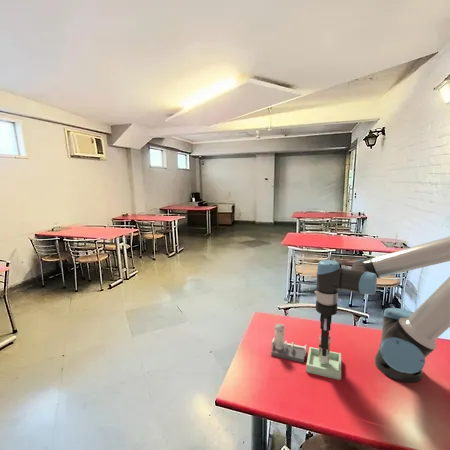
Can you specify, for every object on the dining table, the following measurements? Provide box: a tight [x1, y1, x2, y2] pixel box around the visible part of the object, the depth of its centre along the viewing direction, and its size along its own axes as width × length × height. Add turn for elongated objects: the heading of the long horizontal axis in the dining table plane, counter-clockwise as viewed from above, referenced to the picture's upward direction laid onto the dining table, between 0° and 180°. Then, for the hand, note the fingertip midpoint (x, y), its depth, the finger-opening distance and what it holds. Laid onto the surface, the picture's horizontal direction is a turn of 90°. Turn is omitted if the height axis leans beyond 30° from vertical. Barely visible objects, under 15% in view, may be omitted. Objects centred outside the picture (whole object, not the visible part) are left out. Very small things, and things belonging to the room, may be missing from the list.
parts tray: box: [305, 346, 342, 381], centre depth 103 cm, size 12×12×3 cm
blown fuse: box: [318, 334, 331, 364], centre depth 102 cm, size 4×4×10 cm
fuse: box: [274, 323, 285, 351], centre depth 112 cm, size 4×4×10 cm
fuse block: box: [270, 337, 308, 364], centre depth 111 cm, size 14×8×4 cm, turn 67°
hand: (324, 358), depth 103 cm, fingers closed on blown fuse, 4 cm apart
